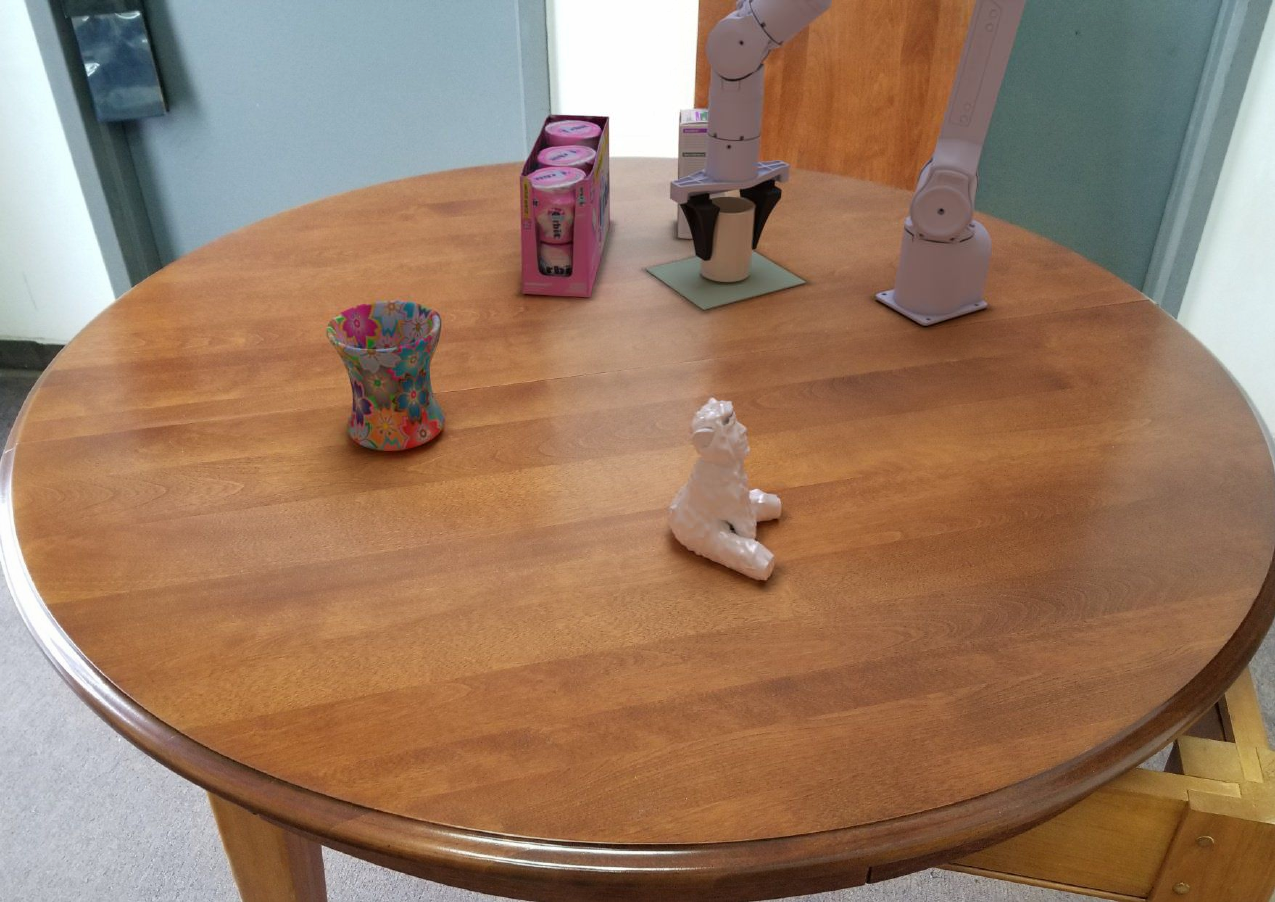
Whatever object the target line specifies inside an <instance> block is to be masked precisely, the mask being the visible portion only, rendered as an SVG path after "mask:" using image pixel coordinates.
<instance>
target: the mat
mask: <svg viewBox="0 0 1275 902" xmlns="http://www.w3.org/2000/svg"><path fill="white" fill-rule="evenodd" d="M699 263H700V258H699V257H697V256H694V257H689V258H686V259H682V260H678V261H673V262H670V263H665V264H660V265H657V266H653V267H648V268H646V270H645V271H646V272H647V273H649V274H650V275H652V276H654V278H656V279H658V280H659V281H660V282H661V283H663V284H665V285H667V286H668V287H669V288H670V289H672V290H673V291H675V292H676V293H678V294H679V295H680V296H682V297H683V298H685V299H687V300H688V301H689V302H690V303H692V304H694V306H696V307H697V308H699V309H700V310H702V311H707V310H710V309H715V308H718V307H721V306H725V305H729V304H733V303H737V302H740V301H745V300H748V299H752V298H756V297H759V296H763V295H767V294H772V293H775V292H779V291H782V290H786V289H790V288H794V287H798V286H801V285H806V281H805V280H803V279H801V278H799V277H798V276H796V275H795V274H793V273H791V272H790V271H788V270H786V269H784V268H783V267H781V266H780V265H778V264H776V263H775V262H773V261H771V260H769V259H768V258H766V257H765V256H763V255H761V254H760V253H758V252H756V251H754V250H752V260H751V268H750V274H749V276H748V277H747V278H745V279H743V280H740V281H734V282H720V281H714V280H711V279H708V278H706V277H704V276H703V275H702V274H701V273H700V266H699Z"/></svg>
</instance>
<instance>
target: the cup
mask: <svg viewBox="0 0 1275 902" xmlns="http://www.w3.org/2000/svg"><path fill="white" fill-rule="evenodd" d="M710 199H712V203H713V204H714V205H716V206H718V207H720V212H719V214H718V217H717V220H716V224H715V228H714V233H713V246H712V255H711V259H710V260H708V261H704V260H702V259H701V258H700V263H699V266H700V273H701V274H702V275H703V276H704V277H706V278H708V279H711V280H714V281H720V282H734V281H740V280H743V279H745V278H747V277H748V276H749V274H750V268H751V260H752V247H753V234H754V221H755V208H756V206H755V204H754V202H752V201H751V200H749V199H747V198H743V197H740V195H739V196H738V195H730V194H729V195H728V194H727V195H726V194H725V196H715V197H710Z"/></svg>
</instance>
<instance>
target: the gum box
mask: <svg viewBox="0 0 1275 902" xmlns="http://www.w3.org/2000/svg"><path fill="white" fill-rule="evenodd" d="M610 186H611V181H610V116H608V115H607V116H606V115H605V116H604V115H583V114H582V115H580V114H552V113H551V114H547V116H546V117H545V119H544V121H543V123H542V127H541V128H540V131H539V133H538V136H537V137H536V140H535V142H534V144H533V146H532V148H531V150H530V152H529V154H528V156H527V158H526V160H525V162H524V164H523V165H522V168H521V170H520V173H519V191H520V192H519V200H520V201H519V202H520V252H521V253H520V254H521V257H520V258H521V285H522V291H521V292H522V294H525V295H526V294H527V295H541V296H543V295H544V296H553V297H554V296H556V297H557V296H558V297H577V298H579V297H581V298H591V295H592V290H593V287H594V283H595V280H596V277H597V273H598V269H599V266H600V263H601V259H602V255H603V251H604V249H605V243H606V240H607V236H608V233H609V229H610V225H611V197H610V196H611V195H610V194H611V193H610V191H611V190H610V189H611V187H610Z"/></svg>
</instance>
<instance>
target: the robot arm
mask: <svg viewBox="0 0 1275 902" xmlns="http://www.w3.org/2000/svg"><path fill="white" fill-rule="evenodd" d="M832 1H833V0H737V1H736V2H735V7H736V9H737V10H734V11H733V12H731V13H729V14H728V15H727V16H725V17H724V18H722V19H720V20H718V22H717V23H716V25H715V26H714V27H713V28H712V30H711V31H710V33H709V35H708V36H707V39H706V41H705V42H706V43H705V49H704V50H705V57H706V60H707V63H708V64H709V66H710V82H709V83H710V84H709V85H710V86H709V89H708V102H707V103H708V105H707V106H708V107H707V109H708V123H707V145H706V164H705V169H703V170H701V171H698V172H696V173H694V174H691V175H689V176H687V177H684V178H682V179H679V180H678V179H675V180H671V181H670V182H669V183H670V184H669V186H670V187H669V199H670V200H672V201H673V202H675V203H677V204H678V203H679V205H680V207H681V208H682V211H683V213H684V215H685V217H686V219H687V222H688V225H689V228H690V231H691V235H692V239H691V240H692V242H693V248H694V254H695V257H699V258H701V259H702V260H704V261H708V260H710V259H711V255H712V246H713V233H714V228H715V224H716V220H717V217H718V214H719V212H720V207H718V206H716V205H714V204H713V203H712V199H710V195H713V194H718V193H723V192H725V193H728V192H733V191H737V190H738V191H739V197H743V198H747V199H749V200H751V201H752V202H754V204H755V206H756V208H755V221H754V234H753V247H752V250H753V251H754V250H756V249H757V247H758V244H759V242H760V238H761V237H762V233H763V231H764V229H765V226H766V224H767V221H768V219H769V217H770V215H771V214H772V212H773V210H774V209H775V207H776V205H777V204H778V203H779V202H780V200H781V199H782V193H783V191H782V188H781V187H778V186H777V185H776V182H778V183H782V184H784V183H787V182H789V177H790V166H791V165H790V164H789V163H787V162H784V161H782V160H780V159H777V160H770V161H760V147H761V136H762V135H761V134H762V121H763V110H764V109H763V108H764V96H765V95H764V94H765V90H764V77H765V63H764V61H766V60H767V58H768V57H769V56H770V54H771V52H772V50H776V49H780V48H782V47H783V46H784V45H786V44H787V43H788V42H789V41H790V40H792V39H793V38H794V37H796V36H797V35H798V34H800V32H802V31H803V30H804V29H805V28H806V27H808V26H809V25H810V24H812V23H813V22H814V21H815V20H817V19H818V18H819V17H821V16H822V15H824V13H826V12H827V11H828V10H829V9H830V8H831V6H832ZM1026 3H1027V0H975V1H974V6H973V9H972V13H971V17H970V20H969V24H968V27H967V31H966V35H965V38H964V42H963V45H962V49H961V53H960V57H959V61H958V65H957V68H956V72H955V75H954V79H953V83H952V86H951V90H950V93H949V97H948V101H947V105H946V108H945V112H944V115H943V120H942V123H941V126H940V130H939V134H938V138H937V141H936V144H935V148H934V151H933V153H932V155H931V157H930V158H929V159H928V160H927V161H926V162H925V163H924V165H923V166H922V167H921V169H920V171H919V174H918V177H917V182H916V183H917V185H916V188H915V192H914V194H913V195H912V196H911V197H912V198H911V200H910V203H909V207H908V208H909V209H908V213H909V215H908V216H907V217H906V218H905V219H904V224H903V225H904V226H903V231H902V236H901V237H902V238H901V244H900V250H899V256H898V263H897V268H896V275H895V282H894V287H893V289H889V290H886V291H882V292H878V293H876V295H875V299H876V300H877V301H879V302H880V303H883V304H884V305H886V306H888V307H889V308H891V309H893V310H894V311H896V312H898V313H900V314H901V315H904V316H905V317H907V318H909V319H910V320H912V321H914V322H916V323H918V324H919V325H921V326H930V325H933V324H937V323H940V322H943V321H946V320H947V321H948V320H949V319H950V320H951V319H952V318H956V317H959V316H960V317H961V316H963V315H966V314H969V313H974V312H977V311H979V310H983V309H987V308H988V302H986V301H985V300H983V297H984V291H985V288H986V282H987V279H988V273H989V269H990V264H991V258H992V254H993V253H992V251H993V245H992V244H993V243H992V240H991V236H990V234H989V232H988V230H987V229H986V228H985V226H984V225H983V224H982V223H980V222H979V221H978V220H974V215H975V200H976V194H977V193H978V189H979V183H980V178H979V173H978V166H979V162H980V158H981V155H982V150H983V146H984V143H985V140H986V138H987V137H986V136H987V132H988V129H989V126H990V123H991V121H992V116H993V113H994V109H995V106H996V103H997V99H998V96H999V93H1000V90H1001V86H1002V83H1003V80H1004V76H1005V73H1006V70H1007V66H1008V64H1009V59H1010V56H1011V52H1012V49H1013V46H1014V43H1015V39H1016V36H1017V33H1018V31H1019V30H1018V29H1019V26H1020V23H1021V20H1022V16H1023V13H1024V9H1025V5H1026Z"/></svg>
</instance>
